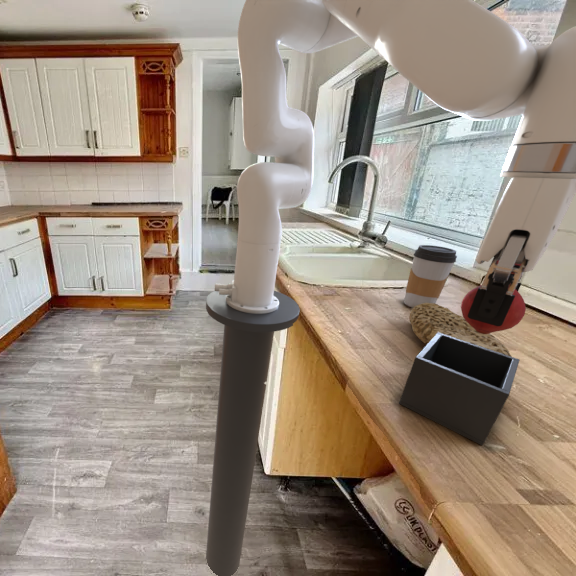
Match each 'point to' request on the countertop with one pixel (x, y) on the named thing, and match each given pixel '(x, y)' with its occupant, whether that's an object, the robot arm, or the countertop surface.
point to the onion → (510, 321)
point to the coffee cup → (428, 274)
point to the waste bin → (459, 385)
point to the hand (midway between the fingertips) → (488, 313)
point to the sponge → (449, 327)
